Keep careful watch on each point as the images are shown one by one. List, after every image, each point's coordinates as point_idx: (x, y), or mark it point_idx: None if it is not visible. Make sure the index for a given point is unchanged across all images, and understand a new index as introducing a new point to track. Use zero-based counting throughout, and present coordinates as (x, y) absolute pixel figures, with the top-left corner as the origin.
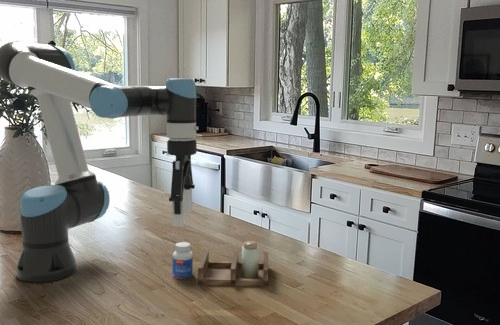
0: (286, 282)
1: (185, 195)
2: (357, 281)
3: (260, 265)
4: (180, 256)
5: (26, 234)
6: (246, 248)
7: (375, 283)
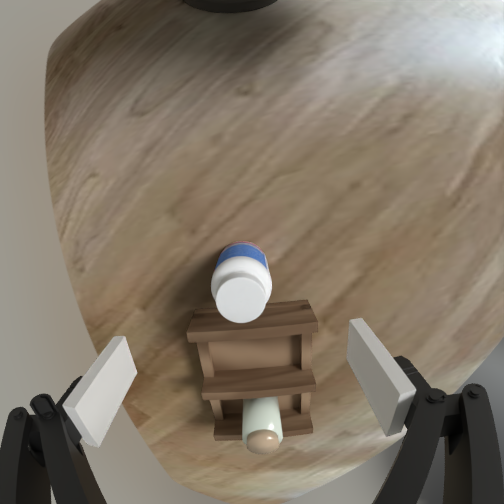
0: None
1: (380, 388)
2: (275, 480)
3: (300, 407)
4: (212, 289)
5: None
6: (248, 435)
7: (271, 489)
